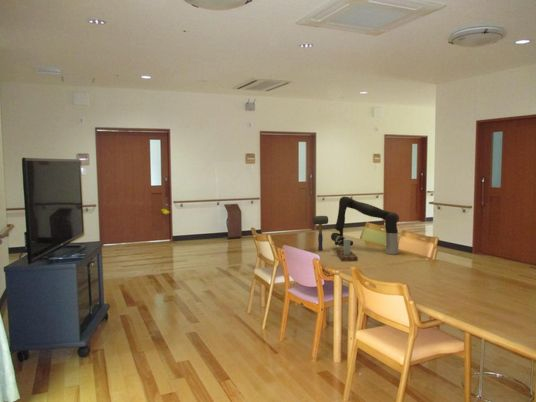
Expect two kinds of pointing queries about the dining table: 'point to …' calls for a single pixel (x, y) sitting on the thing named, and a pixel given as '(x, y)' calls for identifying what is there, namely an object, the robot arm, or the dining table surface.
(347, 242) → the plank post
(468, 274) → the dining table surface
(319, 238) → the rubber mallet
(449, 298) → the dining table surface
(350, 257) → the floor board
